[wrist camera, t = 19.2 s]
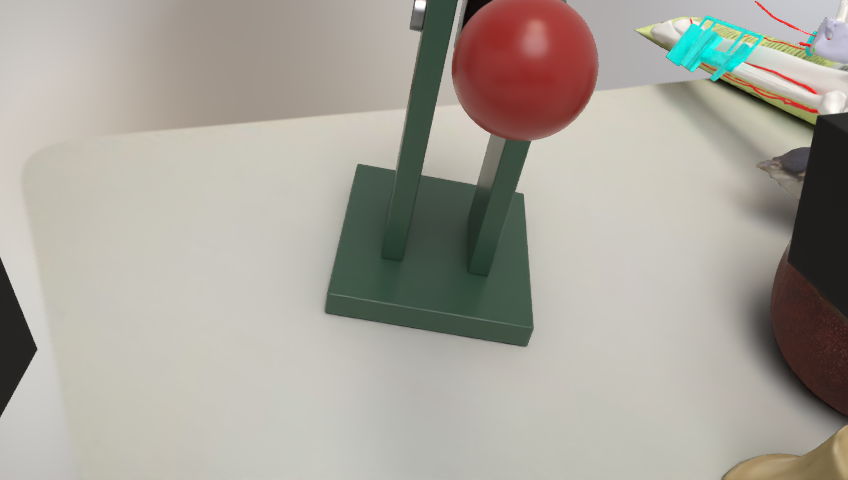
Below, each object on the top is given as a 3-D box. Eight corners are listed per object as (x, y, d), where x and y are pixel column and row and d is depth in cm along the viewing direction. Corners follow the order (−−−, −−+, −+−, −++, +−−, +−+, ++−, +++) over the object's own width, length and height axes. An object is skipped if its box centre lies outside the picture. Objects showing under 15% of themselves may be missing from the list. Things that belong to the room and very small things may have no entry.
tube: (869, 165, 54) (648, 63, 65) (912, 108, 54) (683, 15, 65) (871, 135, 50) (633, 30, 60) (919, 72, 49) (670, -22, 60)
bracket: (527, 347, 33) (638, 63, 24) (324, 313, 32) (363, 10, 23) (518, 210, 40) (600, -42, 32) (354, 181, 40) (392, -84, 31)
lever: (590, 169, 18) (633, 13, 16) (440, 141, 17) (472, -19, 16) (519, 75, 31) (540, -15, 30) (433, 58, 31) (451, -33, 29)
